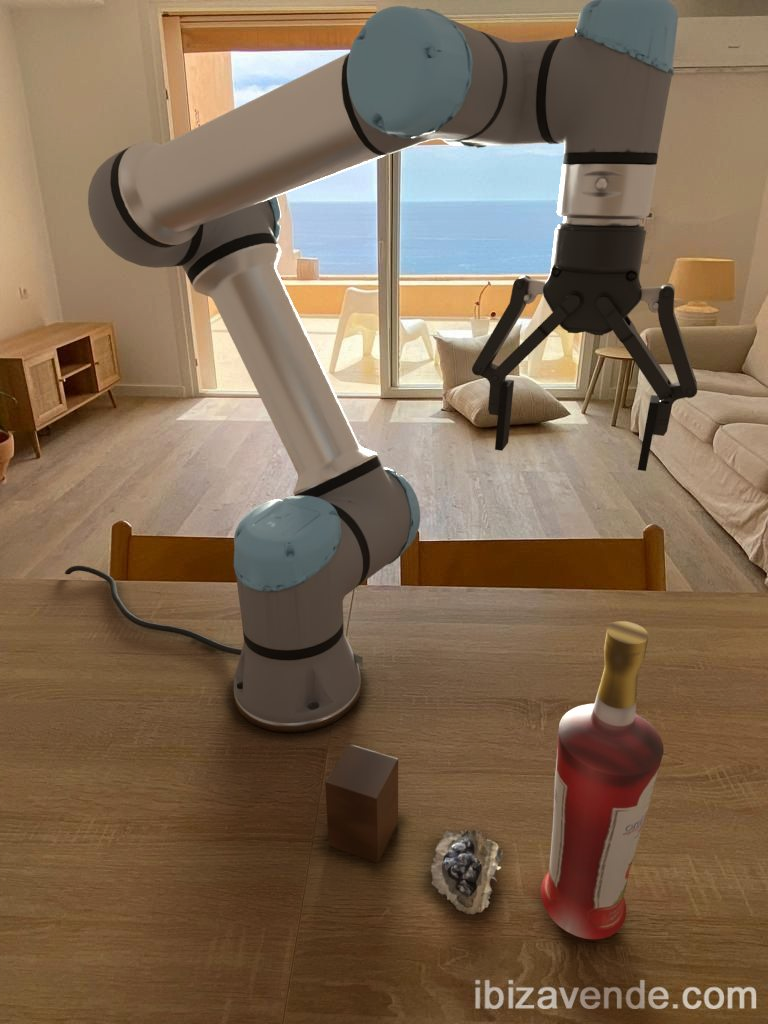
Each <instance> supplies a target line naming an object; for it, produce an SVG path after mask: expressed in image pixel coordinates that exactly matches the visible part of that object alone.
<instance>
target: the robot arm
mask: <svg viewBox="0 0 768 1024" xmlns="http://www.w3.org/2000/svg"><path fill="white" fill-rule="evenodd" d="M678 13H679V12H678V10H677V8H676V6H675V4H674V3H672V2H671V1H670V0H592V1H589V2H587V3H586V4H585V5H584V6H583V7H582V8H581V10H580V11H579V13H578V14H579V15H578V19H577V20H578V21H577V24H576V26H575V28H574V34H573V35H571V36H564V37H562V38H556V39H548V40H534V41H533V40H532V41H521V42H520V41H516V42H515V41H514V42H513V41H508V40H505V39H503V38H500V37H498V36H495V35H492V34H489V33H486V32H484V31H481V30H477V29H475V28H472V27H470V26H468V25H465V24H463V23H461V22H458V21H455V20H452V19H451V18H448V17H447V16H445V15H444V14H442V13H440V12H438V11H436V10H433V9H431V8H425V9H424V8H418V7H409V6H406V5H393V6H389V7H386V8H382V9H380V10H379V11H377V12H375V13H374V14H373V15H371V16H370V17H369V18H368V19H367V20H366V21H365V23H364V25H363V26H362V28H361V30H360V31H359V33H358V34H357V35H356V36H355V38H354V39H353V41H352V44H351V46H350V50H349V52H348V53H346V54H344V55H342V56H340V57H338V58H335V59H334V60H333V59H332V60H331V61H329V62H327V63H325V64H323V65H321V66H318V67H317V68H315V69H312V70H310V72H307V73H305V74H303V75H300V76H299V77H297V78H295V79H293V80H291V81H289V82H286V83H284V84H282V85H280V86H279V87H276V88H274V89H272V90H270V91H268V92H266V93H264V94H263V95H259V96H258V97H256V98H254V99H252V100H250V101H248V102H245V103H244V104H241V105H240V106H238V107H235V108H234V109H232V110H229V111H228V112H226V113H223V114H221V115H220V116H217V117H215V118H214V119H212V120H209V121H207V122H205V123H203V124H201V125H199V126H197V127H195V128H193V129H191V130H189V131H187V132H185V133H183V134H181V135H179V136H177V137H175V138H173V139H170V140H169V141H167V142H165V143H162V144H161V143H159V142H155V141H150V140H147V141H145V140H144V141H140V142H137V143H134V144H132V145H131V146H129V147H126V148H124V149H123V150H121V151H118V152H117V153H115V154H113V155H112V156H110V157H108V158H107V159H106V160H105V161H103V163H102V164H100V166H99V167H98V168H97V169H96V171H95V172H94V174H93V176H92V178H91V181H90V184H89V187H88V193H87V207H88V213H89V217H90V220H91V223H92V225H93V228H94V229H95V231H96V233H97V235H98V236H99V238H100V239H101V241H102V242H103V243H104V244H105V246H106V247H108V248H109V250H110V251H112V252H113V254H115V255H117V256H118V257H119V258H122V259H123V260H124V261H126V262H129V263H132V264H133V265H134V264H135V265H137V266H141V267H146V268H155V269H159V268H160V269H161V268H173V267H182V268H183V270H184V272H185V274H186V277H187V278H188V280H189V282H190V284H191V286H192V288H193V290H194V291H195V292H197V293H199V294H201V295H204V296H207V297H209V298H211V299H212V301H213V303H214V305H215V307H216V309H217V312H218V313H219V315H220V318H221V319H222V321H223V324H224V326H225V327H226V331H228V334H229V336H230V338H231V340H232V342H233V344H234V346H235V348H236V350H237V352H238V354H239V357H240V358H241V360H242V362H243V364H244V365H243V366H245V369H246V371H247V373H248V375H249V377H250V379H251V381H252V383H253V385H254V387H255V389H256V392H257V394H258V395H259V398H260V400H261V401H262V402H261V403H262V404H263V406H264V408H265V410H266V413H267V414H268V416H269V418H270V420H271V423H272V425H273V426H274V428H275V431H276V432H277V435H278V437H279V439H280V441H281V444H282V445H283V447H284V448H285V451H286V453H287V455H288V456H289V459H290V461H291V463H292V465H293V468H294V470H295V472H296V474H297V479H296V483H295V486H294V489H293V492H292V493H293V494H294V495H289V496H286V497H285V498H284V499H279V498H275V499H272V500H269V501H266V502H264V503H261V504H260V505H258V506H256V507H254V508H253V509H251V510H250V511H249V512H248V513H246V514H245V516H244V517H242V519H241V520H240V522H239V523H238V524H237V526H236V529H235V532H234V536H233V544H234V545H233V550H234V551H233V559H232V562H233V569H234V573H235V578H236V585H237V591H238V593H237V594H238V600H239V601H238V602H239V606H240V607H239V609H240V610H239V611H240V617H241V626H242V627H241V628H242V634H243V635H242V636H243V642H242V643H243V644H242V647H241V648H239V647H236V646H235V647H234V646H230V645H226V644H223V643H220V642H218V641H216V640H213V639H211V638H209V637H206V636H204V635H202V634H200V633H197V632H195V631H192V630H189V629H186V628H183V627H178V626H173V625H167V624H161V623H154V622H149V621H147V620H143V619H141V618H139V617H137V616H135V615H134V614H132V613H131V612H130V611H129V609H127V607H126V606H125V604H124V603H123V601H122V600H121V598H120V597H119V594H118V587H117V583H116V581H115V579H114V578H113V577H112V576H111V575H109V574H107V573H105V572H103V571H101V570H99V569H96V568H94V567H91V566H86V565H73V566H70V567H69V568H67V569H66V570H65V571H64V575H72V573H73V572H86V573H89V574H91V575H92V574H93V575H95V576H97V577H99V578H101V579H102V580H105V581H106V582H107V583H108V584H109V586H110V593H111V598H112V600H113V601H114V603H115V605H116V606H117V608H118V610H119V611H120V612H121V614H122V615H123V616H124V617H125V618H126V619H127V620H128V621H130V622H131V623H134V624H135V625H137V626H140V627H142V628H144V629H145V628H146V629H150V630H154V631H162V632H168V633H174V634H179V635H181V636H186V637H188V638H191V639H193V640H196V641H198V642H200V643H202V644H204V645H207V646H209V647H211V648H213V649H216V650H219V651H222V652H223V653H224V652H225V653H228V654H232V655H233V654H234V655H238V656H239V659H238V663H237V665H236V670H235V674H234V678H233V695H234V696H233V697H234V701H235V702H234V703H235V705H236V708H237V710H238V712H239V713H240V715H242V717H243V718H245V719H246V720H247V721H248V722H250V723H251V724H253V725H255V726H257V727H260V728H262V729H265V730H269V731H274V732H280V733H300V732H301V733H302V732H309V731H313V730H317V729H320V728H323V727H326V726H328V725H331V724H332V723H334V722H336V721H338V720H339V719H341V718H343V717H344V716H345V715H346V714H347V713H349V712H350V711H351V709H353V707H354V706H355V705H356V703H357V702H358V700H359V697H360V694H361V689H362V683H361V681H362V679H361V677H362V676H361V670H360V666H362V667H363V666H364V659H363V657H362V656H360V655H358V654H356V653H354V652H353V649H352V647H351V645H350V642H349V640H348V638H347V636H346V633H345V628H344V627H345V626H344V599H345V598H346V596H347V595H348V594H350V593H351V592H353V591H354V590H355V589H356V588H357V587H359V586H360V585H362V584H363V583H364V582H366V581H368V580H369V579H370V578H371V577H372V576H374V575H375V574H376V573H378V572H379V571H380V570H382V569H383V568H385V567H386V566H388V565H392V564H393V563H394V562H395V561H397V560H398V559H399V558H400V557H401V556H402V555H403V553H404V552H405V551H406V550H407V549H408V548H409V547H411V545H412V544H413V542H414V540H415V539H416V537H417V535H418V531H419V529H420V526H421V525H420V524H421V508H420V504H419V499H418V496H417V494H416V492H415V489H414V488H413V486H412V484H411V483H410V482H409V481H408V480H407V479H406V477H405V476H403V475H402V474H401V475H399V474H398V473H397V472H396V471H395V470H393V469H391V468H388V467H384V465H383V464H382V462H381V459H380V457H379V455H378V454H377V452H375V451H372V450H370V449H367V448H364V447H363V446H362V445H361V444H360V443H359V442H358V439H357V437H356V435H355V433H354V430H353V428H352V426H351V425H350V422H349V420H348V418H347V416H346V413H345V412H344V409H343V408H342V405H341V402H340V401H339V399H338V397H337V394H336V392H335V390H334V388H333V386H332V384H331V382H330V380H329V378H328V375H327V374H326V371H325V369H324V367H323V364H322V362H321V361H320V359H319V357H318V355H317V353H316V349H315V347H314V346H313V344H312V342H311V340H310V337H309V336H308V333H307V331H306V329H305V327H304V325H303V323H302V321H301V319H300V316H299V314H298V312H297V310H296V308H295V306H294V304H293V302H292V300H291V298H290V295H289V293H288V291H287V289H286V286H285V285H284V282H283V281H282V279H281V276H280V274H279V272H278V270H277V265H278V262H279V260H280V257H281V255H282V250H281V247H280V245H279V243H278V241H279V237H280V234H281V228H282V227H281V224H279V220H280V219H281V218H282V213H281V207H280V202H279V200H278V196H281V195H284V194H287V193H288V192H292V191H295V190H297V189H300V188H302V187H305V186H308V185H310V184H313V183H315V182H318V181H321V180H324V179H327V178H329V177H332V176H335V175H337V174H340V173H342V172H345V171H348V170H350V169H353V168H356V167H359V166H361V165H364V164H367V163H370V162H372V161H375V160H378V159H380V158H383V157H386V156H389V155H392V154H395V153H399V152H401V151H404V150H407V149H409V148H412V147H414V146H417V145H421V144H423V143H425V142H429V141H434V140H441V141H443V142H444V143H446V144H448V145H452V146H464V147H470V148H471V147H475V148H477V149H480V148H486V147H488V146H515V145H516V146H517V145H518V146H519V145H536V144H537V145H538V144H548V145H558V144H559V145H560V144H563V149H564V150H563V156H562V166H561V176H560V184H559V194H558V201H557V210H556V213H557V215H558V216H559V217H563V220H562V223H558V225H557V227H555V230H554V236H553V247H552V256H551V264H550V266H551V267H550V271H549V272H550V273H549V275H548V278H547V280H546V281H544V280H543V281H542V280H538V279H532V278H531V277H530V276H528V275H522V276H520V277H518V278H516V279H515V280H514V281H513V284H512V289H511V294H510V298H509V299H510V300H509V303H508V305H507V307H506V308H505V310H504V312H503V313H502V315H501V317H500V319H499V320H498V322H497V324H496V325H495V327H494V329H493V330H492V332H491V334H490V336H489V337H488V339H487V341H486V342H485V345H484V346H483V348H482V350H481V351H480V353H479V355H478V356H477V358H476V360H475V361H474V363H473V365H472V366H471V371H472V372H471V373H472V374H473V375H474V376H477V377H478V376H479V377H482V378H484V379H486V380H487V381H488V383H489V390H488V391H489V393H488V405H487V410H488V414H489V415H492V416H493V415H494V416H497V419H496V430H495V431H496V432H495V445H494V450H495V451H501V452H503V450H504V449H505V448H506V446H507V445H508V444H509V440H510V439H509V438H510V428H511V418H512V408H513V407H512V406H513V398H514V397H513V396H514V387H515V380H514V379H507V376H508V375H510V373H511V372H512V371H514V370H515V368H517V367H518V366H519V365H520V364H521V363H522V362H523V361H524V360H525V359H526V358H527V357H528V356H529V355H530V354H531V353H533V351H534V350H535V349H536V348H537V347H538V346H540V344H541V343H542V342H544V340H545V339H546V338H547V337H549V335H551V334H552V332H554V331H555V330H556V329H557V328H558V327H559V326H560V328H561V329H563V331H566V332H567V333H568V334H580V333H588V334H590V335H593V336H602V337H603V336H604V335H607V334H609V333H612V332H613V334H615V336H616V338H617V339H618V341H619V342H620V343H621V344H622V345H623V346H624V348H625V349H626V351H627V353H629V355H630V357H631V359H632V360H633V362H634V363H635V364H636V366H637V367H638V369H639V370H640V372H641V373H642V375H643V376H644V378H645V379H646V381H647V382H648V384H649V385H650V387H651V388H652V390H653V392H655V394H656V395H654V394H651V395H650V397H649V398H650V399H649V403H648V411H647V415H646V420H645V425H644V432H643V437H642V444H641V448H640V453H639V460H638V465H637V471H642V472H646V471H647V468H648V462H649V457H650V451H651V445H652V441H653V437H654V436H660V437H661V436H662V437H664V436H665V435H666V434H667V432H668V428H669V423H670V418H671V413H672V407H673V405H674V403H675V402H676V401H678V400H681V399H686V398H687V399H692V398H694V397H696V396H697V393H698V381H697V379H696V375H695V373H694V369H693V366H692V362H691V359H690V356H689V354H688V350H687V348H686V345H685V342H684V338H683V335H682V332H681V329H680V325H679V322H678V319H677V317H676V314H675V309H674V308H675V293H676V288H675V286H674V285H673V284H672V283H670V282H669V283H664V284H662V285H661V286H646V287H642V285H641V282H640V275H641V267H642V262H643V261H642V260H643V255H644V248H645V242H646V237H647V230H646V229H645V226H644V225H641V219H646V218H648V217H649V216H650V211H651V205H652V200H653V193H654V188H655V182H656V175H657V170H658V165H657V163H658V158H659V150H660V144H661V138H662V133H663V127H664V122H665V116H666V111H667V106H668V99H669V94H670V88H671V83H672V78H673V76H674V74H675V68H674V60H675V59H674V58H675V50H676V41H677V40H676V39H677V31H678V23H679V14H678ZM539 295H542V297H543V298H544V300H545V302H546V304H547V306H548V307H549V309H550V311H551V313H550V314H549V315H548V316H547V317H546V318H545V319H544V321H542V322H541V323H540V324H539V325H538V326H537V327H536V329H534V331H532V332H531V333H530V335H528V336H527V337H526V338H525V339H524V340H523V342H521V343H520V344H519V345H518V346H517V347H516V348H515V350H513V352H511V353H510V354H509V356H507V357H506V358H505V359H504V360H503V361H502V362H501V363H500V364H499V365H497V364H495V363H493V362H494V361H495V359H496V357H497V355H498V354H499V352H500V350H501V348H502V347H503V346H504V344H505V342H506V340H507V339H508V337H509V335H510V334H511V332H512V330H513V328H514V327H515V325H516V324H517V322H518V320H519V319H520V317H521V316H522V313H524V310H525V308H526V306H527V305H530V304H532V303H533V302H534V301H536V299H537V297H538V296H539ZM641 301H642V302H645V303H646V304H647V306H648V309H649V311H650V312H651V313H655V314H656V313H657V316H658V317H657V318H658V322H659V326H660V329H661V332H662V335H663V338H664V341H665V344H666V348H667V350H668V353H669V357H670V360H671V362H672V366H673V369H674V372H675V375H676V377H677V382H671V380H670V379H669V377H668V376H667V374H666V373H665V371H664V370H663V368H662V366H661V364H660V363H659V361H658V360H657V359H656V358H655V356H654V354H653V353H652V351H651V350H650V348H649V347H648V345H647V343H646V342H645V340H643V338H642V336H641V334H640V333H639V332H638V330H637V328H636V326H635V324H634V323H633V321H632V320H631V318H630V316H629V314H630V313H631V312H632V311H633V310H634V309H635V308H636V307H637V306H638V305H639V303H640V302H641Z"/></svg>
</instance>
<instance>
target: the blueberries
mask: <svg viewBox="0 0 768 1024" xmlns="http://www.w3.org/2000/svg"><path fill="white" fill-rule="evenodd" d="M441 835H442V838H441V839H439V842H438V843H437V845H436V847H435V849H434V851H435V853H436V854H435V857H434V856H433V857H432V860H433V862H432V863H431V866H430V868H431V869H430V871H431V878H432V882H431V885H432V886H433V887H434V888H436V889H437V890H438V894H441V895H442V896H444V895H445V897H447V898H446V900H447V901H450V903H452V905H454V906H455V908H456V910H458V911H459V912H463V914H465V915H471V916H472V915H475V914H476V913H483V912H484V910H485V908H486V909H487V908H488V907H489V904H491V902H490V901H489V899H491V897H490V896H491V894H492V893H493V889H492V887H491V880H492V879H493V880H494V881H496V882H498V881H497V879H496V876H494V875H495V873H496V870H497V871H499V870H500V869H501V868H502V866H498V865H499V864H500V863H501V860H502V859H503V857H504V856H503V853H504V851H503V850H502V848H501V847H500V846H499V844H498V843H496V842H495V841H494V840H493V839H488V836H487V835H484V836H483V833H482V831H480V830H479V829H475V828H474V829H471V831H468V830H467V829H466V828H465V829H463V830H460V832H458V833H457V834H456V833H455V832H453V830H450V831H449V829H446V831H445V832H443V833H441Z"/></svg>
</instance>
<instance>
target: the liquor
mask: <svg viewBox="0 0 768 1024" xmlns="http://www.w3.org/2000/svg"><path fill="white" fill-rule="evenodd" d="M605 633H606V634H605V640H604V647H603V657H604V658H603V659H604V668H603V672H602V675H601V679H600V681H599V686H598V689H597V694H596V697H595V701H594V703H587V704H581V705H578V706H576V707H573V708H571V709H570V710H568V711H567V712H566V713H565V714H564V715H563V716H562V717H561V719H560V721H559V724H558V731H557V747H556V759H555V773H554V786H553V787H554V790H553V811H552V812H553V817H552V828H551V829H552V830H551V842H550V854H549V863H548V864H549V866H548V872H547V873H546V875H545V876H544V877H543V880H542V882H541V888H540V897H541V901H542V904H543V907H544V909H545V911H546V913H547V914H548V916H549V917H550V918H551V920H552V921H553V922H554V923H555V924H556V925H557V926H558V927H560V928H561V929H562V930H563V931H565V932H567V933H569V934H571V935H573V936H575V937H578V938H581V939H585V940H586V939H587V940H602V939H605V938H609V937H611V936H613V935H614V934H616V933H617V932H618V931H619V930H620V929H621V928H622V926H623V925H624V923H625V921H626V917H627V904H626V899H625V893H626V889H627V884H628V881H629V876H630V872H631V868H632V865H633V861H634V857H635V854H636V849H637V847H638V843H639V840H640V836H641V833H642V829H643V827H644V823H645V820H646V817H647V814H648V811H649V807H650V803H651V800H652V796H653V793H654V788H655V784H656V781H657V777H658V773H659V769H660V766H661V762H662V760H663V759H662V758H663V756H664V752H665V751H664V743H663V739H662V738H661V736H660V733H659V732H658V730H656V728H655V727H654V726H653V725H652V724H651V723H650V722H649V721H647V720H646V719H645V718H644V717H642V716H640V715H639V714H637V713H636V711H637V694H638V693H637V692H638V677H639V672H640V670H641V667H642V665H643V663H644V660H645V658H646V653H647V648H648V642H649V636H650V635H649V632H648V631H647V630H646V629H645V628H644V627H643V626H642V625H639V624H637V623H635V622H631V621H623V620H619V621H613V622H611V623H609V624H608V625H607V628H606V632H605Z"/></svg>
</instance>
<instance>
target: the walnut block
mask: <svg viewBox="0 0 768 1024" xmlns="http://www.w3.org/2000/svg"><path fill="white" fill-rule="evenodd" d="M324 789H325V791H324V792H325V804H326V806H325V807H326V819H327V820H326V823H327V840H328V846H329V847H331V848H334V849H337V850H339V851H343V852H345V853H347V854H350V855H353V856H356V857H359V858H360V859H361V858H362V859H364V860H366V861H369V862H372V863H376V864H379V862H380V860H381V859H382V857H383V854H384V853H385V850H386V848H387V846H388V844H389V841H390V840H391V838H392V835H393V833H394V831H395V829H396V828H397V825H398V824H399V759H398V758H397V757H394V756H391V755H386V754H383V753H380V752H377V751H374V750H371V749H368V748H363V747H360V746H357V745H353V744H350V743H349V744H348V745H347V747H346V748H345V750H344V751H343V753H342V754H341V756H340V758H339V759H338V761H337V762H336V764H335V765H334V767H333V768H332V769H331V772H330V773H329V775H328V776H327V778H326V780H324Z"/></svg>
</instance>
